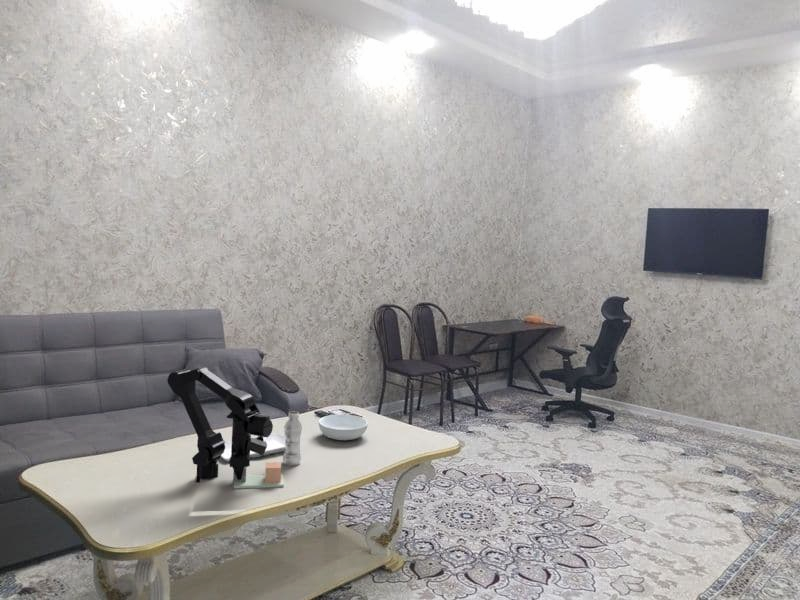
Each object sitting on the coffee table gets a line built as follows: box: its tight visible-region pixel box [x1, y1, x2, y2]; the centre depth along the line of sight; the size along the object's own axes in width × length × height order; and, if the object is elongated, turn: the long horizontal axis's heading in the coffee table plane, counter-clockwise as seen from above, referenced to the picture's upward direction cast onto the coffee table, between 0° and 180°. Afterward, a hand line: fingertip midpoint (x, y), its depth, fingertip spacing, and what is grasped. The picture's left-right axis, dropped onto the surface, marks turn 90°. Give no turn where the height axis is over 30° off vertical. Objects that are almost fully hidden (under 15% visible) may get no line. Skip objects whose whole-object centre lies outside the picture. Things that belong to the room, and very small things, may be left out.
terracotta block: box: [264, 461, 282, 483], centre depth 205 cm, size 5×5×5 cm
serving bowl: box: [318, 414, 369, 441], centre depth 259 cm, size 21×21×7 cm
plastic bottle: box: [282, 410, 303, 467], centre depth 222 cm, size 6×7×20 cm
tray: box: [220, 432, 285, 463], centre depth 235 cm, size 17×31×4 cm, turn 132°
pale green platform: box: [232, 467, 285, 489], centre depth 204 cm, size 16×9×5 cm, turn 103°
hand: (239, 478), depth 202 cm, fingers closed on pale green platform, 2 cm apart
